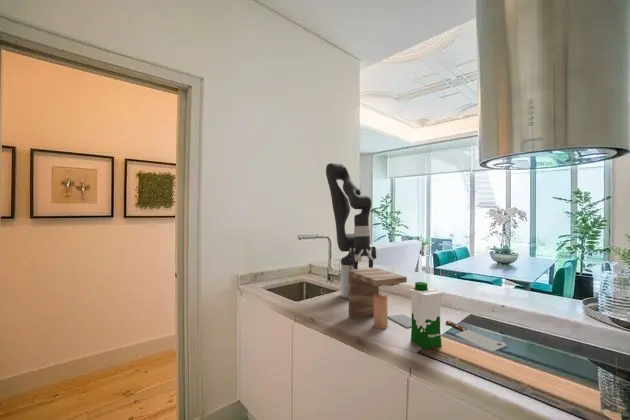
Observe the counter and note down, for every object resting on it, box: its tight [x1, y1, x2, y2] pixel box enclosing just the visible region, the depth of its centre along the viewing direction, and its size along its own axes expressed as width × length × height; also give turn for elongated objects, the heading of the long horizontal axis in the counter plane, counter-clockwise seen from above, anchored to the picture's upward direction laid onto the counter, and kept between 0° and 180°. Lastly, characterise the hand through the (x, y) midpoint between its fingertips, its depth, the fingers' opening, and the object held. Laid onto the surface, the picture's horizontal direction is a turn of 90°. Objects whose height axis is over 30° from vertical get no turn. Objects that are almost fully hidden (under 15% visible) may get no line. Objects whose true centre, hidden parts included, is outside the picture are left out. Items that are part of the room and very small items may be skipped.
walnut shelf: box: [348, 267, 408, 320], centre depth 118 cm, size 20×14×20 cm
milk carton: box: [408, 281, 444, 350], centre depth 100 cm, size 9×9×20 cm
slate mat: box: [388, 313, 412, 329], centre depth 120 cm, size 12×8×1 cm, turn 23°
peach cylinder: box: [373, 293, 389, 330], centre depth 116 cm, size 5×5×12 cm
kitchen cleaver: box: [445, 320, 508, 352], centre depth 107 cm, size 24×1×10 cm
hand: (363, 268), depth 144 cm, fingers open, 8 cm apart
